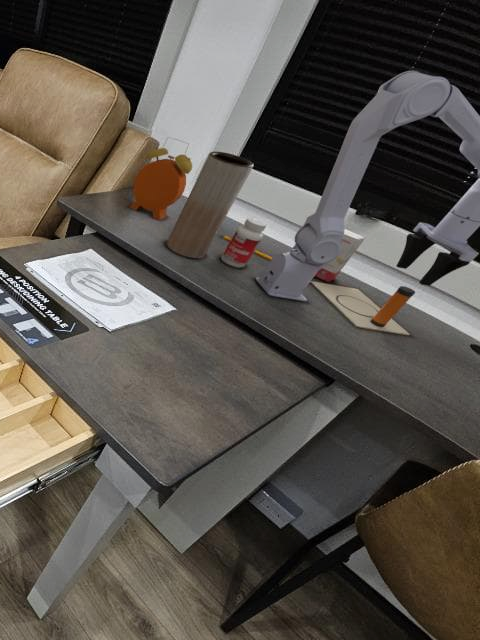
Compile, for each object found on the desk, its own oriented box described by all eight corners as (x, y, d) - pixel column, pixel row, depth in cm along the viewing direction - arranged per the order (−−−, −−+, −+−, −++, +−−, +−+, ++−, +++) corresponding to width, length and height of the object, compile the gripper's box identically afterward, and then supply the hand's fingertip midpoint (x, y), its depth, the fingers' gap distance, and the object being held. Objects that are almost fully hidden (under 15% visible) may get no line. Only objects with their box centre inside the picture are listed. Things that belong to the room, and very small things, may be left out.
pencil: (283, 267, 121) (285, 265, 120) (222, 238, 130) (223, 235, 130) (285, 266, 121) (286, 264, 121) (223, 237, 131) (224, 235, 130)
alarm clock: (171, 218, 136) (205, 146, 122) (164, 222, 132) (197, 149, 119) (132, 202, 141) (160, 131, 128) (124, 205, 137) (152, 133, 124)
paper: (355, 326, 101) (357, 325, 101) (310, 282, 116) (311, 280, 116) (409, 335, 102) (410, 334, 102) (357, 290, 117) (358, 288, 117)
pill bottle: (217, 260, 117) (241, 219, 110) (224, 254, 121) (247, 214, 113) (241, 270, 115) (267, 229, 107) (247, 264, 118) (272, 223, 111)
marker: (374, 326, 102) (405, 292, 96) (367, 319, 104) (397, 285, 98) (387, 328, 102) (418, 294, 96) (379, 321, 104) (409, 287, 98)
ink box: (334, 279, 120) (367, 237, 112) (326, 283, 117) (359, 240, 109) (303, 264, 124) (332, 222, 116) (294, 267, 122) (324, 225, 114)
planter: (208, 252, 120) (258, 162, 105) (197, 262, 114) (248, 168, 99) (173, 237, 124) (216, 148, 109) (160, 247, 118) (204, 154, 103)
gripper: (514, 234, 87) (452, 295, 96) (457, 206, 97) (407, 263, 106) (481, 228, 86) (422, 290, 95) (427, 200, 97) (379, 258, 106)
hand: (412, 275), depth 101 cm, fingers open, 7 cm apart
